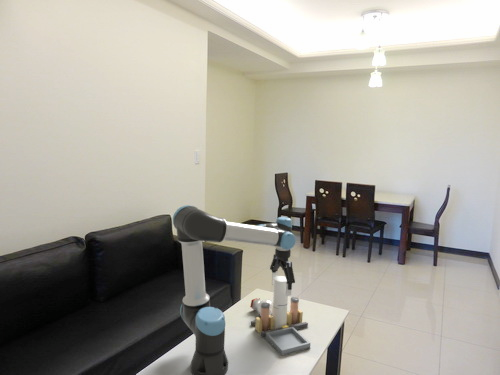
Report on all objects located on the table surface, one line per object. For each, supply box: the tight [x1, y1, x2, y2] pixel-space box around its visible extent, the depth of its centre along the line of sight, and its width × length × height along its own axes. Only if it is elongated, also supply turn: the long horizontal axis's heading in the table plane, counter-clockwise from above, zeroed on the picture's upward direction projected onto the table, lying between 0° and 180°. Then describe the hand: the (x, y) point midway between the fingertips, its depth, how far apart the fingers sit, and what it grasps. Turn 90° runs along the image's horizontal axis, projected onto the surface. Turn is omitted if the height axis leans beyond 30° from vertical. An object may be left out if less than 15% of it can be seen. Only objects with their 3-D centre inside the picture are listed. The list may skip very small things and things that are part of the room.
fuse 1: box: [260, 303, 270, 332], centre depth 171 cm, size 4×4×13 cm
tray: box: [265, 327, 311, 357], centre depth 160 cm, size 15×15×2 cm
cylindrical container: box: [272, 275, 289, 329], centre depth 174 cm, size 7×7×25 cm
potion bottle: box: [249, 297, 273, 317], centre depth 185 cm, size 9×10×15 cm
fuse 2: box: [289, 296, 300, 325], centre depth 178 cm, size 4×4×13 cm
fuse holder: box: [250, 308, 309, 338], centre depth 175 cm, size 26×13×6 cm, turn 115°
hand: (281, 289), depth 173 cm, fingers open, 13 cm apart
